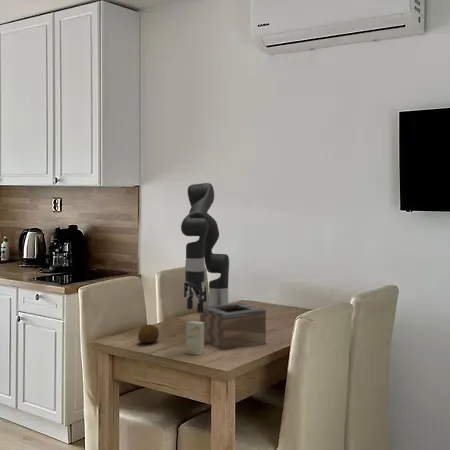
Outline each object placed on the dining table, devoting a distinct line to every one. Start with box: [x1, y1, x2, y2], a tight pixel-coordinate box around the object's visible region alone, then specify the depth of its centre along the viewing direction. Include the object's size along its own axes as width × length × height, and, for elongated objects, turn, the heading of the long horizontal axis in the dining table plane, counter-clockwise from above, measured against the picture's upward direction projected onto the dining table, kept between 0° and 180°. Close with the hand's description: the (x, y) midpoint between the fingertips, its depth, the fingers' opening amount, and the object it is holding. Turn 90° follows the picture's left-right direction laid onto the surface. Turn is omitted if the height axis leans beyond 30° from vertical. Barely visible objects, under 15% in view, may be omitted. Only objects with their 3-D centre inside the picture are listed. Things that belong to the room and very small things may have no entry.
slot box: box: [199, 302, 267, 351], centre depth 262 cm, size 20×20×14 cm
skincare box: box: [185, 320, 205, 356], centre depth 244 cm, size 6×4×12 cm
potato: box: [137, 324, 160, 344], centre depth 260 cm, size 8×12×8 cm, turn 170°
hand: (194, 310), depth 244 cm, fingers open, 8 cm apart
